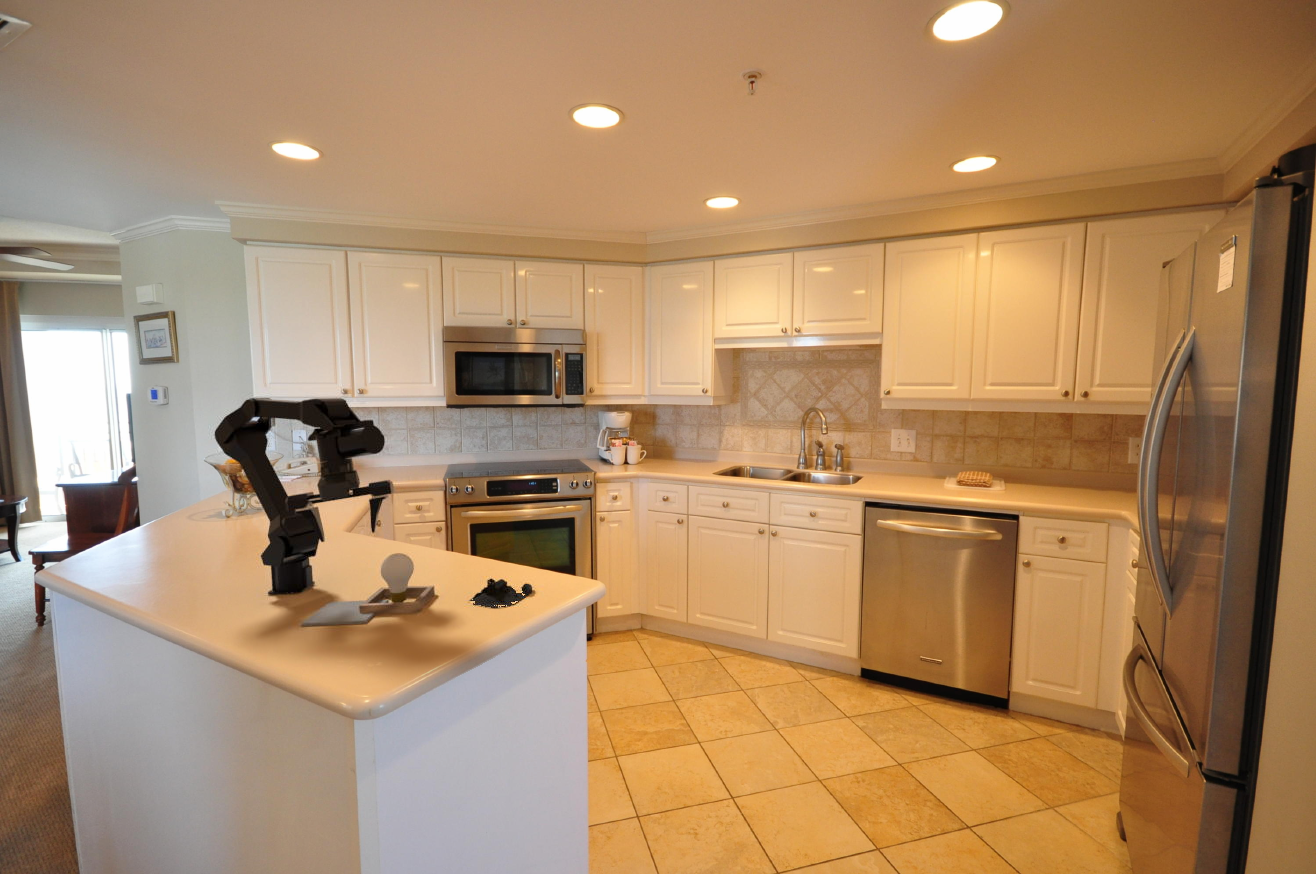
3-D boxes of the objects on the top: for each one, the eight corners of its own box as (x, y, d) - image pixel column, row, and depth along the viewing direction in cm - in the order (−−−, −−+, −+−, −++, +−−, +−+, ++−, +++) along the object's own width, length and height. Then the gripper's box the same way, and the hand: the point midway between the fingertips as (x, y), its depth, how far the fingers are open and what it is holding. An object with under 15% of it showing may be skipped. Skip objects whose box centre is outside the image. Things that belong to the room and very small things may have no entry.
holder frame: (359, 615, 110) (359, 605, 110) (381, 596, 120) (380, 587, 120) (418, 612, 111) (417, 603, 110) (434, 594, 121) (434, 585, 121)
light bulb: (422, 601, 117) (419, 551, 116) (397, 611, 112) (395, 559, 111) (400, 597, 119) (398, 548, 119) (375, 607, 114) (372, 555, 113)
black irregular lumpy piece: (507, 612, 112) (506, 586, 111) (461, 608, 114) (460, 582, 114) (537, 592, 123) (537, 568, 123) (495, 588, 126) (494, 565, 126)
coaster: (301, 626, 105) (301, 623, 105) (330, 604, 116) (330, 601, 116) (365, 623, 106) (365, 620, 106) (388, 602, 117) (388, 599, 117)
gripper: (270, 469, 108) (284, 553, 109) (381, 453, 114) (394, 533, 114) (287, 467, 119) (300, 544, 119) (388, 453, 125) (400, 526, 125)
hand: (348, 537), depth 119 cm, fingers open, 9 cm apart
